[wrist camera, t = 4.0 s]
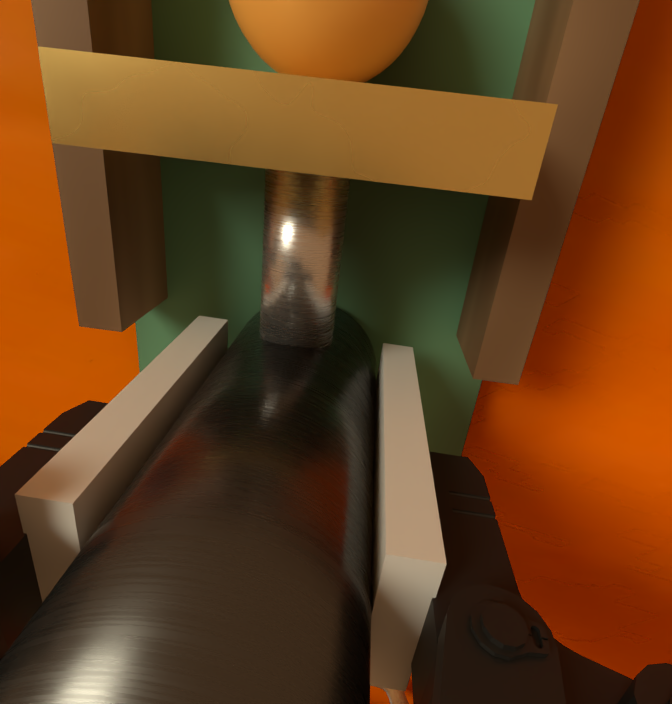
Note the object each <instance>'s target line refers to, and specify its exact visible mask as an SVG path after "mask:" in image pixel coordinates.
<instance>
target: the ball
mask: <svg viewBox="0 0 672 704" xmlns="http://www.w3.org/2000/svg"><path fill="white" fill-rule="evenodd" d="M229 3H230V6H231V9H232V11H233V14H234V17H235V19H236V21H237V23H238V25H239V27H240V29H241V31H242V33H243V34H244V36H245V37H246V39H247V40H248V42H249V43H250V45H251V47H252V48H253V49H254V50H255V52H256V53H257V54H258V55H259V56H260V58H261V59H262V60H263V61H264V62H265V63H267V64H268V65H269V66H270V67H271V68H272V69H273V70H275V71H276V72H278V73H281V74H290V75H299V76H308V77H317V78H326V79H335V80H344V81H353V82H362V83H364V82H366V81H368V80H370V79H372V78H373V77H375V76H377V75H378V74H380V73H381V72H382V71H384V70H385V69H386V68H387V67H389V66H390V65H391V64H392V63H393V62H394V61H395V60H396V59H397V58H398V57H399V56H400V54H401V53H402V52H403V50H404V49H405V48H406V46H407V45H408V44H409V42H410V40H411V39H412V37H413V35H414V34H415V32H416V30H417V28H418V26H419V24H420V22H421V19H422V17H423V15H424V13H425V10H426V6H427V3H428V0H229Z"/></svg>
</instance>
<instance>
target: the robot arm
mask: <svg viewBox="0 0 672 704" xmlns="http://www.w3.org/2000/svg"><path fill="white" fill-rule="evenodd" d="M227 345H228V320H226V319H219V318H212V317H205V316H198V317H197V318H196V319H195V320H194V321H193V322H192V323H191V324H190V325H189V326H188V327H187V328H186V329H185V330H184V331H183V332H182V333H181V334H180V335H179V336H178V337H177V338H175V339H174V340H173V341H172V342H171V343H170V344H169V345H168V346H167V347H166V348H165V349H164V350H163V351H162V352H161V353H160V354H159V355H158V356H157V357H156V358H155V359H154V360H153V361H152V362H151V363H150V364H149V365H148V366H147V367H146V368H145V369H143V370H142V371H141V372H140V373H139V374H138V375H137V376H136V377H135V378H134V379H133V380H132V381H131V382H130V383H129V384H128V385H127V386H126V387H125V388H124V389H123V390H122V391H121V392H120V393H119V394H118V395H117V396H116V397H115V398H114V399H113V400H111V401H110V402H109V403H102V402H95V401H87V402H85V403H83V404H81V405H78V406H76V407H74V408H72V409H70V410H68V411H66V412H64V413H62V414H61V415H60V416H59V417H58V418H56V419H55V420H54V421H53V422H52V423H51V424H49V425H48V426H47V427H46V428H45V429H44V431H43V433H39V434H38V435H37V436H35V437H34V438H33V439H32V440H31V441H30V442H28V445H27V447H23V448H21V449H20V450H19V451H18V452H17V453H16V454H14V455H13V456H12V457H11V458H10V459H9V460H7V461H6V462H5V463H4V464H3V465H2V466H0V660H1V659H2V658H3V656H4V655H5V653H6V652H7V651H8V649H9V648H10V647H11V645H12V644H13V642H14V641H15V640H16V638H17V637H18V636H19V634H20V633H21V632H22V630H23V629H24V627H25V626H26V625H27V623H28V622H29V621H30V619H31V618H32V616H33V615H34V614H35V612H36V611H37V610H38V608H39V607H40V605H41V604H42V603H43V601H44V600H45V599H46V597H47V596H48V595H49V593H50V592H51V590H52V589H53V588H54V586H55V585H56V584H57V582H58V581H59V579H60V578H61V577H62V575H63V574H64V573H65V571H66V570H67V569H68V567H69V566H70V564H71V563H72V562H73V560H74V559H75V558H76V556H77V555H78V553H79V552H80V551H81V549H82V548H83V547H84V545H85V544H86V542H87V541H88V540H89V538H90V537H91V536H92V534H93V533H94V532H95V530H96V529H97V527H98V526H99V525H100V523H101V522H102V521H103V519H104V518H105V516H106V515H107V514H108V512H109V511H110V510H111V508H112V507H113V506H114V504H115V503H116V501H117V500H118V499H119V497H120V496H121V495H122V493H123V492H124V490H125V489H126V488H127V486H128V485H129V484H130V482H131V481H132V479H133V478H134V477H135V475H136V474H137V473H138V471H139V470H140V469H141V467H142V466H143V464H144V463H145V462H146V460H147V459H148V458H149V456H150V455H151V453H152V452H153V451H154V449H155V448H156V447H157V445H158V444H159V443H160V441H161V440H162V438H163V437H164V436H165V434H166V433H167V432H168V430H169V429H170V427H171V426H172V425H173V423H174V422H175V421H176V419H177V418H178V417H179V415H180V414H181V412H182V411H183V410H184V408H185V407H186V406H187V404H188V403H189V401H190V400H191V399H192V397H193V396H194V395H195V393H196V392H197V390H198V389H199V388H200V386H201V385H202V384H203V382H204V381H205V380H206V378H207V377H208V375H209V374H210V373H211V371H212V370H213V369H214V367H215V366H216V364H217V363H218V362H219V360H220V359H221V358H222V356H223V355H224V354H225V352H226V351H227ZM411 672H412V685H413V703H414V704H672V665H671V664H667V663H663V664H652V665H647V666H646V667H645V668H644V669H643V670H642V671H641V672H640V673H639V674H638V675H636V677H635V678H634V680H632V679H630V678H628V677H626V676H624V675H622V674H620V673H617V672H615V671H613V670H611V669H609V668H607V667H605V666H602V665H600V664H598V663H596V662H594V661H592V660H590V659H587V658H585V657H583V656H581V655H579V654H577V653H576V652H574V651H572V650H570V649H569V648H567V647H565V646H563V645H562V644H561V643H559V642H558V641H557V640H556V639H554V638H553V635H552V632H551V630H550V629H549V627H548V626H547V625H546V623H545V622H544V620H543V619H542V618H541V616H540V615H539V614H538V612H537V611H536V610H534V609H533V608H532V607H531V606H530V605H529V604H527V603H526V602H525V601H524V600H523V599H522V598H521V595H520V593H519V590H518V587H517V584H516V581H515V577H514V574H513V571H512V567H511V564H510V561H509V558H508V554H507V551H506V548H505V545H504V541H503V538H502V535H501V532H500V528H499V525H498V522H497V520H495V512H494V509H493V506H492V502H491V501H490V496H489V493H488V489H487V486H486V483H485V479H484V476H483V475H482V474H481V473H480V472H479V470H478V469H477V468H476V467H475V466H474V464H473V463H472V462H471V461H470V460H469V458H468V457H462V456H456V455H449V454H443V453H436V452H430V451H429V448H428V442H427V435H426V429H425V423H424V416H423V410H422V403H421V397H420V390H419V384H418V378H417V371H416V365H415V358H414V352H413V347H407V346H401V345H394V344H387V343H383V347H382V352H381V357H380V363H379V368H378V374H377V379H376V403H375V454H374V505H373V555H372V606H371V657H370V685H371V686H377V687H383V688H388V689H394V690H400V691H406V688H407V685H408V682H409V679H410V676H411Z"/></svg>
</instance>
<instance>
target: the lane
mask: <svg viewBox="0 0 672 704" xmlns="http://www.w3.org/2000/svg"><path fill="white" fill-rule="evenodd" d="M639 1H640V0H428V3H427V6H426V10H425V13H424V15H423V17H422V19H421V22H420V24H419V26H418V28H417V30H416V32H415V34H414V35H413V37H412V39H411V40H410V42H409V44H408V45H407V46H406V48H405V49H404V50H403V52H402V53H401V54H400V56H399V57H398V58H397V59H396V60H395V61H394V62H393V63H392V64H391V65H390V66H389V67H387V68H386V69H385V70H384V71H382V72H381V73H380V74H378V75H377V76H375V77H373V78H372V79H370V80H368V81H366V82H364V83H371V84H380V85H389V86H398V87H407V88H416V89H425V90H433V91H442V92H451V93H460V94H469V95H478V96H487V97H496V98H505V99H514V100H523V101H532V102H541V103H550V104H558V106H557V110H556V114H555V117H554V121H553V124H552V128H551V132H550V135H549V139H548V143H547V146H546V150H545V153H544V157H543V161H542V164H541V168H540V172H539V175H538V179H537V182H536V186H535V190H534V193H533V197H532V200H525V199H517V198H508V197H500V196H492V195H483V194H475V193H466V192H458V191H450V190H441V189H433V188H424V187H416V186H408V185H399V184H391V183H382V182H374V181H366V180H357V179H350V184H349V193H348V202H347V211H346V221H345V230H344V239H343V248H342V257H341V266H340V275H339V284H338V293H337V302H336V307H338V308H340V309H341V310H343V311H345V312H346V313H348V314H349V315H350V316H351V317H352V318H354V319H355V320H356V321H357V322H358V323H359V324H360V326H361V327H362V328H363V330H364V331H365V332H366V334H367V336H368V337H369V339H370V341H371V344H372V346H373V349H374V353H375V358H376V379H377V374H378V368H379V363H380V357H381V352H382V347H383V343H387V344H394V345H401V346H407V347H413V352H414V358H415V365H416V371H417V378H418V384H419V390H420V397H421V403H422V410H423V416H424V423H425V429H426V435H427V442H428V448H429V451H430V452H436V453H443V454H449V455H456V456H461V454H462V451H463V447H464V444H465V440H466V436H467V433H468V429H469V425H470V422H471V418H472V415H473V411H474V407H475V404H476V400H477V396H478V393H479V389H480V386H481V382H482V380H486V381H493V382H500V383H508V384H515V385H518V384H519V381H520V377H521V374H522V371H523V368H524V365H525V362H526V359H527V355H528V352H529V349H530V346H531V343H532V340H533V336H534V333H535V330H536V327H537V324H538V321H539V317H540V314H541V311H542V308H543V305H544V302H545V298H546V295H547V292H548V289H549V286H550V283H551V279H552V276H553V273H554V270H555V267H556V264H557V261H558V257H559V254H560V251H561V248H562V245H563V242H564V238H565V235H566V232H567V229H568V226H569V223H570V219H571V216H572V213H573V210H574V207H575V204H576V200H577V197H578V194H579V191H580V188H581V185H582V181H583V178H584V175H585V172H586V169H587V166H588V163H589V159H590V156H591V153H592V150H593V147H594V144H595V140H596V137H597V134H598V131H599V128H600V125H601V121H602V118H603V115H604V112H605V109H606V106H607V102H608V99H609V96H610V93H611V90H612V87H613V83H614V80H615V77H616V74H617V71H618V68H619V65H620V61H621V58H622V55H623V52H624V49H625V46H626V42H627V39H628V36H629V33H630V30H631V27H632V23H633V20H634V17H635V14H636V11H637V8H638V4H639ZM31 3H32V9H33V16H34V23H35V30H36V36H37V43H38V46H39V47H48V48H57V49H66V50H75V51H84V52H93V53H102V54H111V55H120V56H129V57H138V58H146V59H155V60H164V61H173V62H182V63H191V64H200V65H209V66H218V67H227V68H236V69H245V70H254V71H263V72H272V73H278V72H276V71H275V70H273V69H272V68H271V67H270V66H269V65H268V64H267V63H265V62H264V61H263V60H262V59H261V58H260V56H259V55H258V54H257V53H256V52H255V50H254V49H253V48H252V47H251V45H250V43H249V42H248V40H247V39H246V37H245V36H244V34H243V33H242V31H241V29H240V27H239V25H238V23H237V21H236V19H235V17H234V14H233V11H232V9H231V6H230V3H229V0H31ZM52 145H53V152H54V158H55V165H56V172H57V179H58V186H59V192H60V199H61V206H62V213H63V219H64V226H65V233H66V240H67V246H68V253H69V260H70V267H71V274H72V280H73V287H74V294H75V301H76V307H77V314H78V321H79V326H81V327H89V328H96V329H104V330H111V331H119V332H122V331H124V330H125V329H126V328H128V327H129V326H130V325H132V324H133V323H134V322H135V323H136V334H137V346H138V357H139V368H140V372H141V371H142V370H143V369H145V368H146V367H147V366H148V365H149V364H150V363H151V362H152V361H153V360H154V359H155V358H156V357H157V356H158V355H159V354H160V353H161V352H162V351H163V350H164V349H165V348H166V347H167V346H168V345H169V344H170V343H171V342H172V341H173V340H174V339H175V338H177V337H178V336H179V335H180V334H181V333H182V332H183V331H184V330H185V329H186V328H187V327H188V326H189V325H190V324H191V323H192V322H193V321H194V320H195V319H196V318H197V317H198V316H205V317H212V318H219V319H226V320H228V345H227V349H228V348H229V347H230V345H231V344H232V343H233V341H234V340H235V338H236V337H237V336H238V334H239V333H240V332H241V330H242V329H243V327H244V326H245V325H246V324H247V322H248V321H249V320H250V319H251V318H252V317H253V316H254V315H255V314H256V313H257V312H259V311H260V309H261V281H262V253H263V225H264V197H265V168H257V167H248V166H240V165H231V164H223V163H215V162H206V161H198V160H189V159H181V158H173V157H164V156H156V155H147V154H139V153H131V152H122V151H114V150H106V149H97V148H89V147H80V146H72V145H64V144H55V143H52Z"/></svg>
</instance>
